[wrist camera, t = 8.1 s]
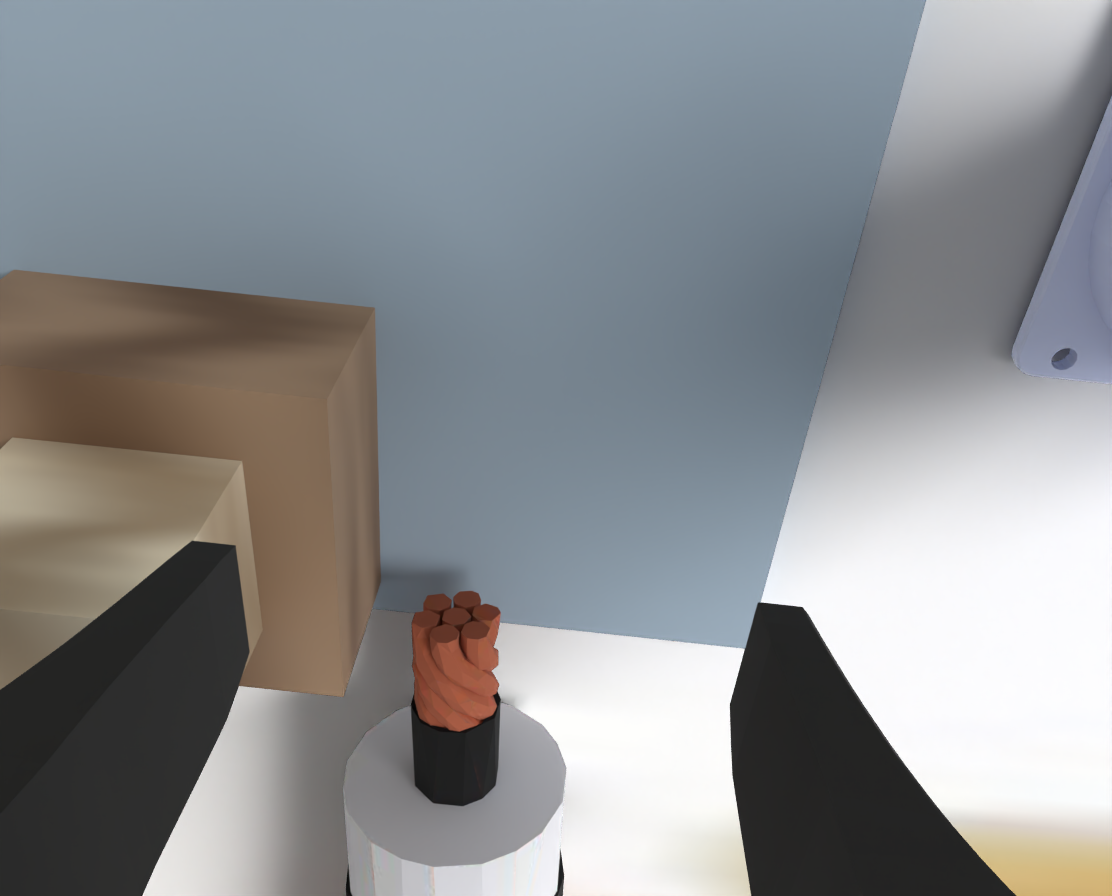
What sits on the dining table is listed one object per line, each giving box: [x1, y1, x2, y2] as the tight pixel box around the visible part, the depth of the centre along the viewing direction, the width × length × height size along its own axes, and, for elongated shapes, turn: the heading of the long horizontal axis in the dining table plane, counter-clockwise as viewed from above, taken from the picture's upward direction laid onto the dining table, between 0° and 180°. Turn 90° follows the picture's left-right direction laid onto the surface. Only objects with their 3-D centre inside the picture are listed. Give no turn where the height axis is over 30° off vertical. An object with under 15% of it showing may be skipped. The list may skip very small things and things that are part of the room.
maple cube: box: [0, 437, 263, 689], centre depth 18 cm, size 4×4×4 cm
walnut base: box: [0, 270, 381, 697], centre depth 21 cm, size 8×8×4 cm
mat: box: [0, 0, 926, 648], centre depth 21 cm, size 22×20×1 cm
